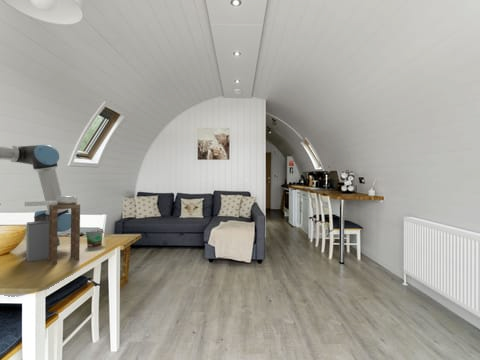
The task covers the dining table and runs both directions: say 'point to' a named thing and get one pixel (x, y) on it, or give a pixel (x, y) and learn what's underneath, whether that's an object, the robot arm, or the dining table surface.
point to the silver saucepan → (60, 201)
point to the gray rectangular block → (37, 240)
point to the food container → (94, 238)
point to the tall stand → (54, 228)
